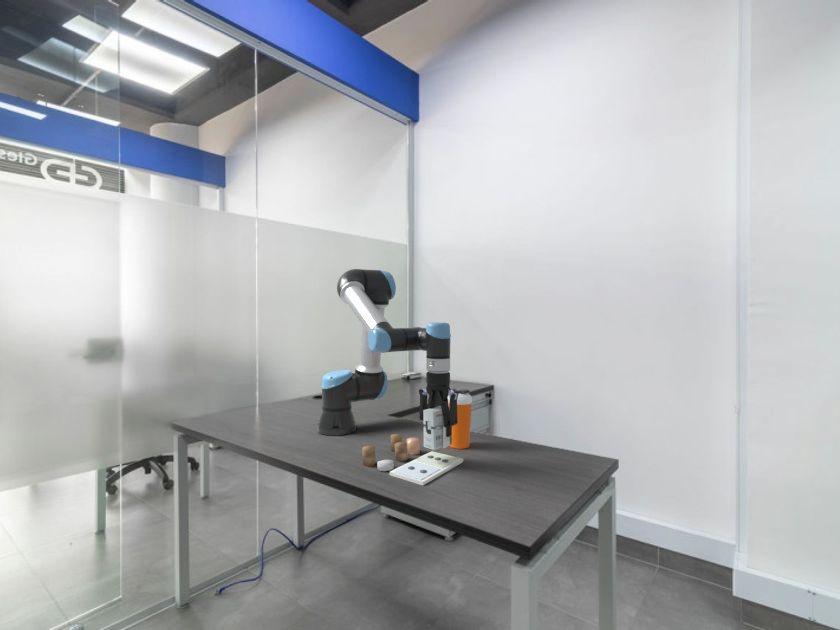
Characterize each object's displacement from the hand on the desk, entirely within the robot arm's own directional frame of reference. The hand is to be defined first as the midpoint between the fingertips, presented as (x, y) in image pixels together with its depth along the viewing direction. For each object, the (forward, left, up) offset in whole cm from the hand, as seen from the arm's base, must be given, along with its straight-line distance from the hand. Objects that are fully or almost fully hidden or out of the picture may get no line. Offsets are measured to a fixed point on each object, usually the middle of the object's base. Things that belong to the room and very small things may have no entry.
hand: (438, 444), depth 131 cm
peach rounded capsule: (-12, +3, -6) cm, 14 cm away
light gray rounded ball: (-10, -13, -6) cm, 18 cm away
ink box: (0, 0, -1) cm, 1 cm away
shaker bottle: (-3, +19, -6) cm, 20 cm away
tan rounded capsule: (-17, -13, -6) cm, 23 cm away
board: (0, -5, -6) cm, 8 cm away
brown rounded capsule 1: (-18, +2, -6) cm, 19 cm away
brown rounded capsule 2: (-11, -4, -6) cm, 13 cm away
